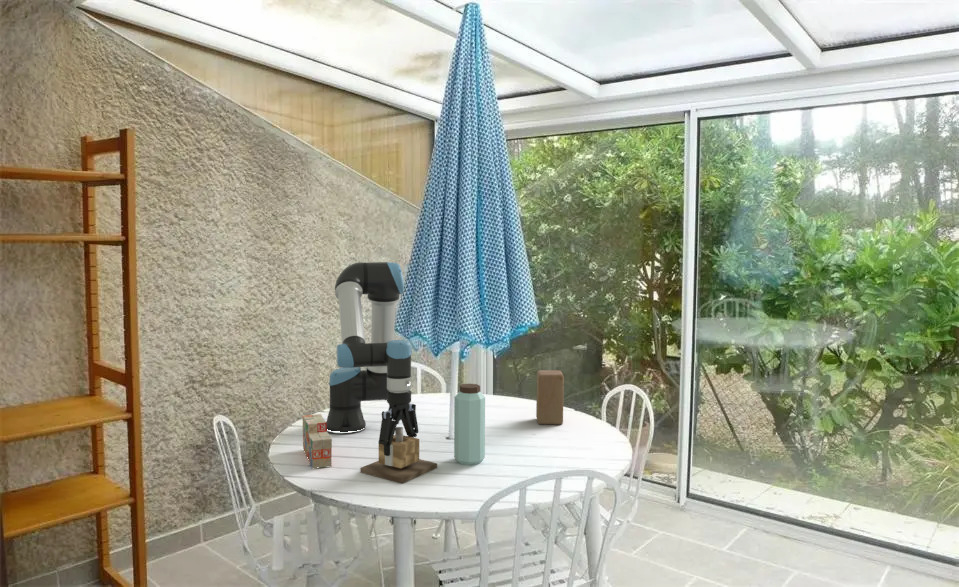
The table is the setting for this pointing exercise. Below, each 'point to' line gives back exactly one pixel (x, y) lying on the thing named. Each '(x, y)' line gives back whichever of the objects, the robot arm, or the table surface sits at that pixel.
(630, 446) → the table surface
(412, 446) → the bead
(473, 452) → the water bottle
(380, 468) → the board
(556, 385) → the wooden block
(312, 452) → the stack of blocks
